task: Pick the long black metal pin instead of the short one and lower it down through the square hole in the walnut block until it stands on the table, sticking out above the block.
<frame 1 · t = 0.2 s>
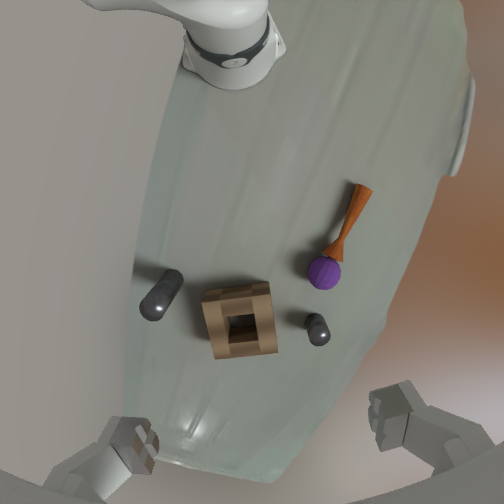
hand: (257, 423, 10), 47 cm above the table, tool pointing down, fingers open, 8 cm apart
hole block: (242, 314, 60), on the table
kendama: (338, 234, 57), on the table
long pin: (173, 279, 59), on the table
short pin: (314, 322, 61), on the table
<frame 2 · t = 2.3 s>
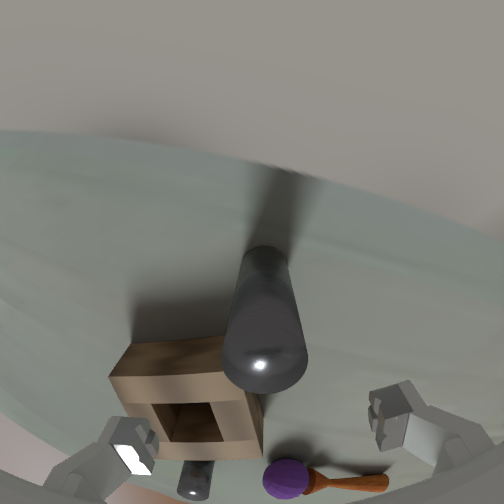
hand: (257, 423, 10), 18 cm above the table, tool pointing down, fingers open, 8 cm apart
hole block: (198, 385, 31), on the table
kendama: (328, 469, 35), on the table
long pin: (264, 268, 27), on the table
short pin: (199, 460, 35), on the table
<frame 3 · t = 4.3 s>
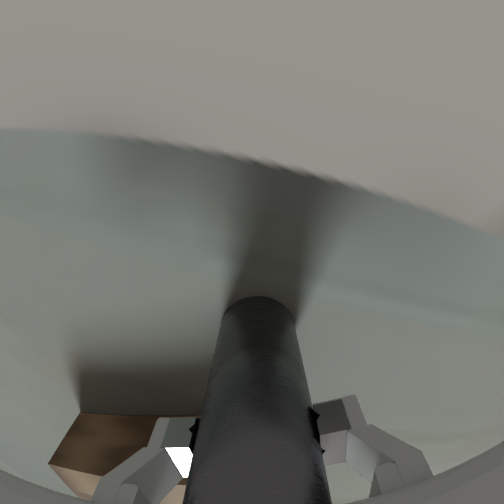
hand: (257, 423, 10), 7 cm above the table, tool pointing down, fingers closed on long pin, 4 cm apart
hole block: (172, 464, 20), on the table
long pin: (257, 329, 17), on the table, touching gripper
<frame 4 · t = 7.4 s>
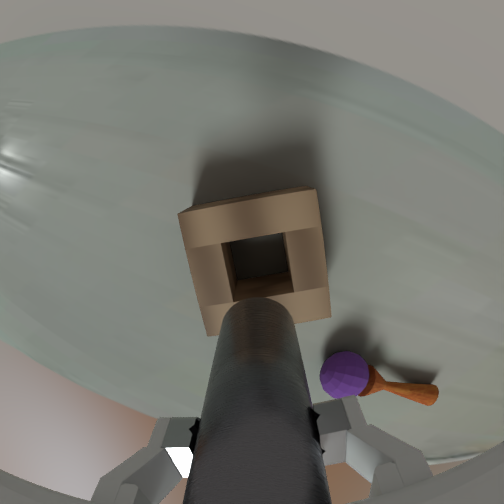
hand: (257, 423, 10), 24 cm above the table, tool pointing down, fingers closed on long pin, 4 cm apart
hole block: (258, 251, 33), on the table
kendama: (379, 374, 38), on the table
long pin: (257, 330, 17), point 17 cm above the table, touching gripper
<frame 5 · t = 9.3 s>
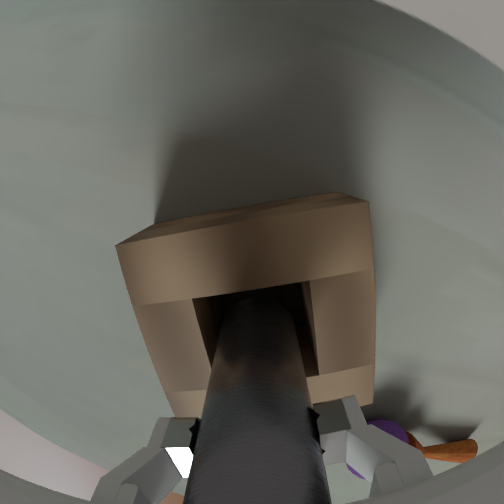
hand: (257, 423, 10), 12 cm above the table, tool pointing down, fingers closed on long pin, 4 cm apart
hole block: (259, 295, 21), on the table
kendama: (414, 435, 25), on the table
long pin: (257, 330, 17), point 4 cm above the table, touching gripper
when the fingers open (9 cm above the table, at t = 10.7 s): long pin drops 1 cm, resting in hole block.
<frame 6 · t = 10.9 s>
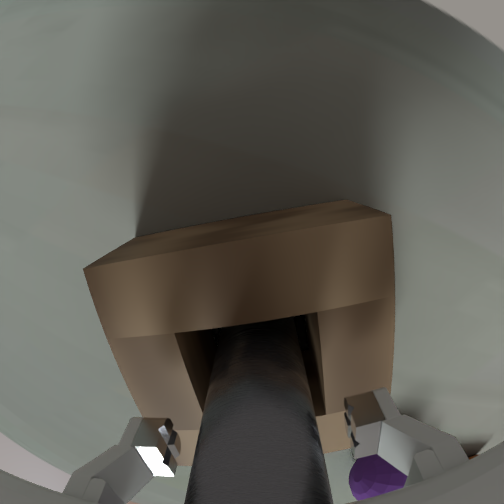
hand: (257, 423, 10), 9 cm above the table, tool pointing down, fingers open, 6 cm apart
hole block: (256, 318, 18), on the table
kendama: (422, 455, 23), on the table
long pin: (258, 318, 18), resting in hole block
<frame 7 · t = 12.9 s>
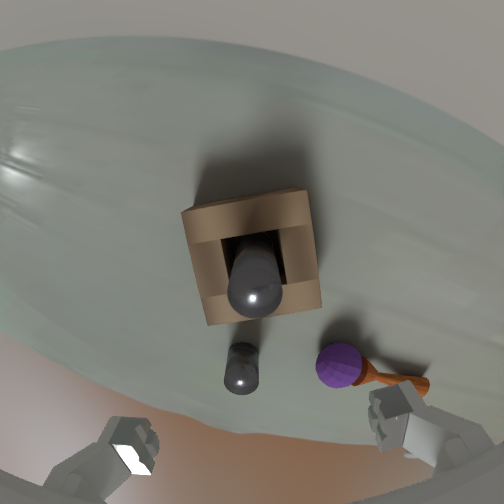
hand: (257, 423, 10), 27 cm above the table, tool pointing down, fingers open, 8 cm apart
hole block: (254, 247, 36), on the table
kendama: (372, 366, 41), on the table
long pin: (255, 247, 36), resting in hole block
short pin: (243, 354, 40), on the table
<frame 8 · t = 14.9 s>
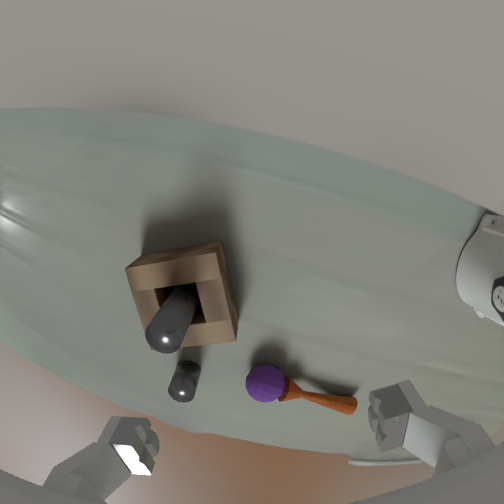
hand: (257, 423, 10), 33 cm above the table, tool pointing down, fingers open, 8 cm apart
hole block: (189, 288, 44), on the table
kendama: (302, 384, 49), on the table
long pin: (190, 289, 44), resting in hole block
short pin: (188, 370, 48), on the table
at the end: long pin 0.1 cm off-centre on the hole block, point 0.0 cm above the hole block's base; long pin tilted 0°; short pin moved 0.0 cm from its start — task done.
